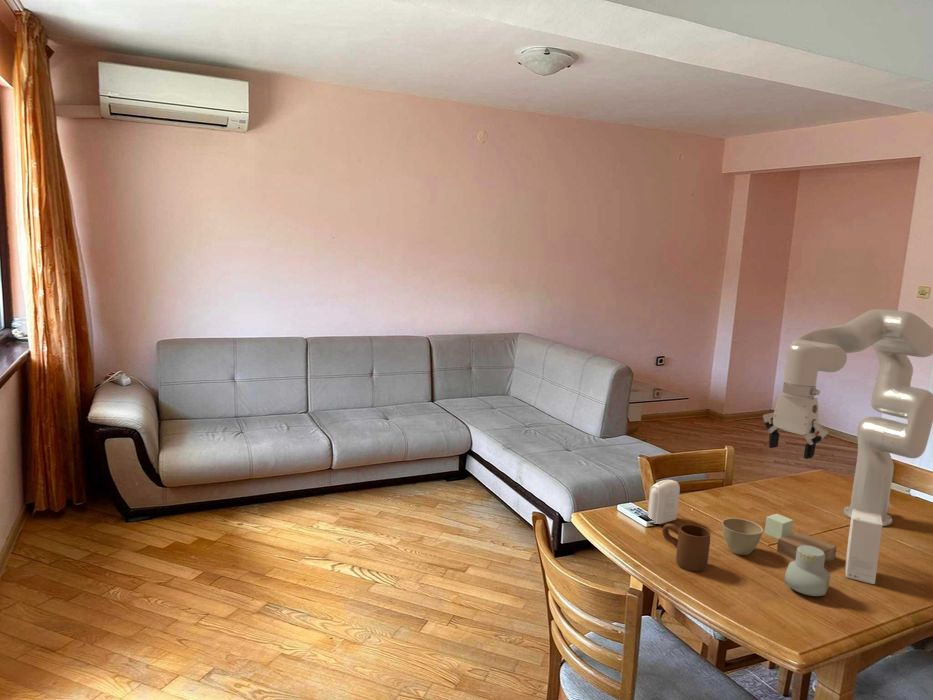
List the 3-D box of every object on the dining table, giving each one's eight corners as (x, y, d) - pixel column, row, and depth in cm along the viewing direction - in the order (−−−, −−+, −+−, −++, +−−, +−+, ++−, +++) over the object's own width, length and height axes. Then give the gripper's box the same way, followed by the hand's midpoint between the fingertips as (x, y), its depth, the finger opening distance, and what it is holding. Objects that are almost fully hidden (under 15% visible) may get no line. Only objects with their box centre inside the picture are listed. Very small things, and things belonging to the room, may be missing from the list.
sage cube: (774, 529, 180) (776, 513, 179) (791, 536, 176) (793, 520, 175) (764, 533, 178) (766, 516, 177) (780, 540, 173) (782, 523, 173)
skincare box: (874, 585, 151) (884, 525, 148) (843, 577, 154) (851, 518, 152) (874, 571, 158) (882, 513, 155) (843, 563, 161) (852, 507, 159)
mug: (654, 559, 160) (657, 525, 158) (665, 549, 165) (669, 516, 164) (701, 576, 152) (704, 540, 151) (711, 564, 158) (715, 530, 156)
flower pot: (740, 540, 172) (743, 516, 171) (768, 557, 163) (771, 531, 162) (711, 544, 169) (713, 519, 168) (737, 562, 160) (740, 536, 159)
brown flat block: (797, 544, 172) (799, 531, 171) (834, 560, 163) (836, 546, 163) (776, 552, 167) (778, 538, 166) (813, 569, 158) (815, 554, 158)
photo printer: (667, 514, 188) (670, 475, 186) (679, 519, 184) (682, 480, 182) (644, 521, 182) (647, 481, 180) (656, 527, 179) (659, 486, 177)
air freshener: (792, 574, 155) (797, 537, 153) (829, 587, 149) (835, 548, 148) (781, 592, 146) (786, 552, 145) (820, 605, 141) (826, 565, 139)
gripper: (839, 396, 158) (830, 460, 161) (776, 382, 173) (768, 441, 175) (824, 398, 154) (814, 464, 157) (760, 384, 169) (752, 445, 171)
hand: (790, 452), depth 166 cm, fingers open, 9 cm apart
